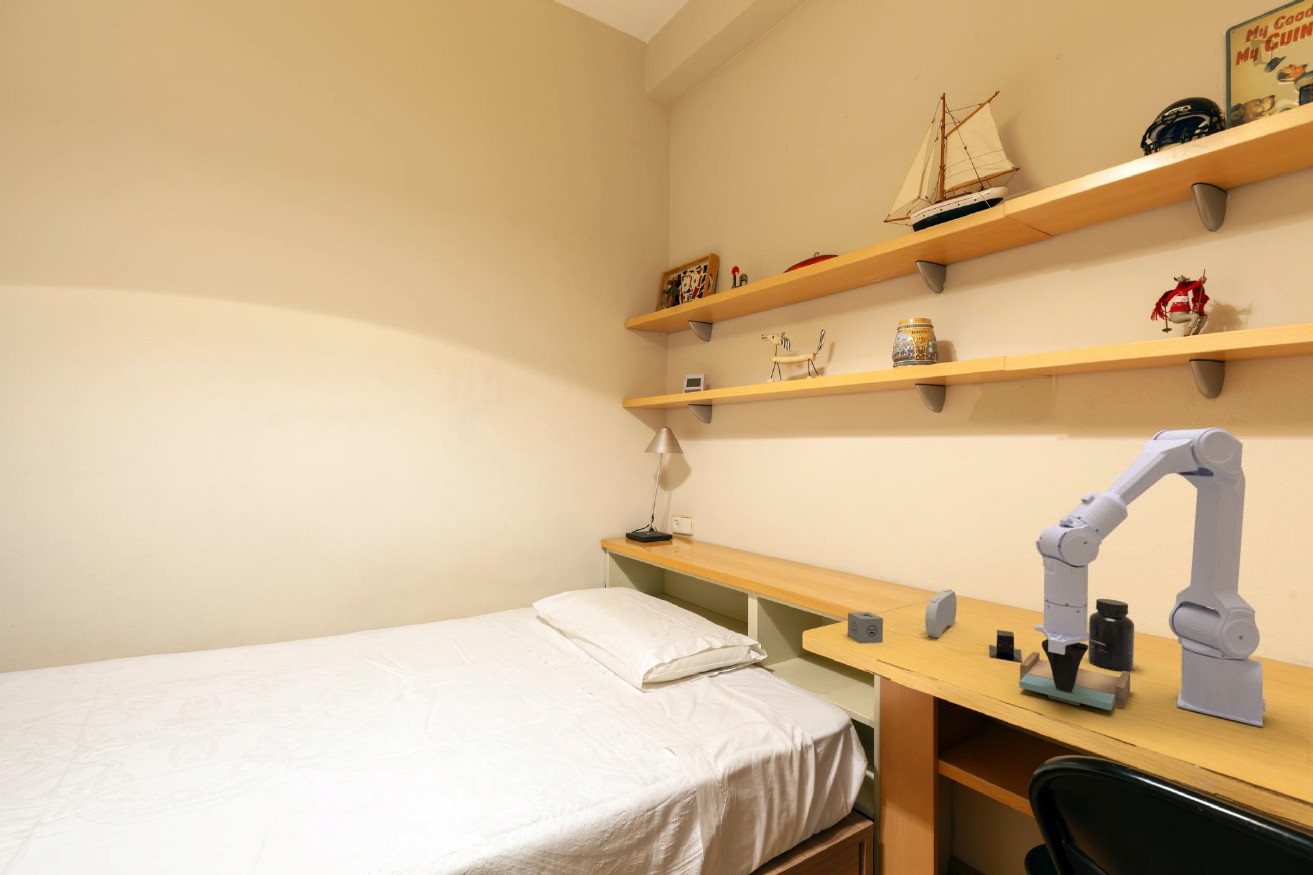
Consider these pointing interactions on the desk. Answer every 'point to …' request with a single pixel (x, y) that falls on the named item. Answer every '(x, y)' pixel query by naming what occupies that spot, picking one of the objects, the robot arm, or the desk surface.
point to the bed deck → (1082, 678)
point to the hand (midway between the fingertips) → (1064, 689)
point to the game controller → (940, 613)
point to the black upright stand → (1005, 648)
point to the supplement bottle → (1111, 636)
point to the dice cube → (865, 627)
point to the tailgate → (1073, 697)
